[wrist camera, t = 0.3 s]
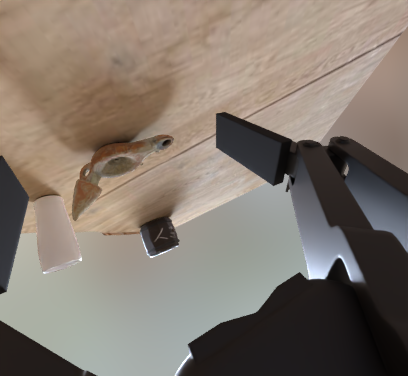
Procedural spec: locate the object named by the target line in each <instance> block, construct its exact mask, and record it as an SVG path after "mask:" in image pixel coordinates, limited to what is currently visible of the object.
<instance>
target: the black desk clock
mask: <svg viewBox="0 0 408 376" xmlns="http://www.w3.org/2000/svg"><path fill="white" fill-rule="evenodd" d="M140 235H141V236H142V240H143V243H144V246H145V248H146V250H147V255H149V256H150V257H154V256H157V255H159V254H162V253H164V252H166V251H169V250H171V249H173V248H175V247H176V246H178V245H179V244H178V242H179V239H178V238H177V234H176V231H175V229H174V226H173V224H172V220H171V219H169V218H168V217H163V218H159V219H156V220H153V221H151V222H148V223H146V224H145V225H143V226H142V227H141V230H140Z"/></svg>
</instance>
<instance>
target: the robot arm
mask: <svg viewBox="0 0 408 376" xmlns="http://www.w3.org/2000/svg"><path fill="white" fill-rule="evenodd" d="M216 148H218V149H219V150H221V151H222V152H224V153H225V154H227V155H228V156H230V157H231V158H233V159H234V160H236V161H237V162H239V163H240V164H242V165H243V166H245V167H246V168H248V169H249V170H251V171H252V172H254V173H255V174H257V175H258V176H260V177H261V178H263V179H264V180H266V181H267V182H269V183H270V184H272V185H273V186H274V185H277V184H279V183H282V182H283V179H284V175H285V174H287V175H289V180H288V184H287V188H286V192H288V190H289V189H290V192H291V196H292V201H293V206H294V210H295V214H296V219H297V223H298V228H299V232H300V237H301V241H302V246H303V250H304V255H305V259H306V263H307V268H308V272H309V279H308V280H307V279H306V278H305V277H304V276H303V275H302V274H301V273H300V272H299V273H298V274H296V275H294V276H293V277H291V278H290V279H288V280H287V281H285V282H284V283H282V284H281V285H279V286H277V288H276V289H275V290H274V291H273V293H272V294H271V295H270V297H269V298H268V299H267V301H266V302H265V303H264V304H263V305H262V307H261V308H260V309H259V310H258V311H257V312H256V313H254V314H250V315H247V316H243V317H240V318H236V319H233V320H229V321H226V322H223V323H220V324H219V325H217V326H215V327H214V328H212V329H211V330H209V331H208V332H206V333H205V334H203V335H201V336H200V337H198V338H197V339H195V340H194V341H192V342H191V343H189V344H188V347H189V352H190V355H189V356H188V358H187V359H186V360H185V361H184V362H183V364H182V365H181V367H180V368H179V370H178V371H177V372H176V374H175V376H408V174H407V173H406V172H404V171H403V170H401V169H400V168H398V167H396V166H395V165H393V164H391V163H390V162H388V161H386V160H385V159H383V158H382V157H380V156H379V155H377V154H375V153H374V152H372V151H370V150H369V149H367V148H366V147H364V146H362V145H361V144H359V143H358V142H356V141H354V140H352V139H349V138H348V137H343V136H340V137H333V138H331V139H330V142H329V145H328V146H322V145H321V144H320V143H319V142H316V141H313V140H301V141H299V142H297V143H296V142H294V141H292V140H291V139H289V138H286V137H284V136H282V135H279V134H277V133H274V132H272V131H269V130H267V129H265V128H262V127H260V126H257V125H255V124H253V123H250V122H248V121H245V120H243V119H240V118H238V117H236V116H233V115H231V114H228V113H226V112H222V113H217V114H216ZM347 164H348V167H349V171H348V174H347V176H345V175H344V171H345V169H346V167H347ZM28 201H29V196H28V194H27V193H26V191H25V190H24V188H23V187H22V185H21V184H20V182H19V181H18V179H17V177H16V176H15V174H14V173H13V171H12V170H11V168H10V167H9V165H8V164H7V162H6V161H5V159H4V158H3V156H0V294H2V293H4V292H6V291H7V287H8V283H9V279H10V275H11V271H12V267H13V262H14V258H15V254H16V250H17V246H18V242H19V238H20V234H21V230H22V225H23V221H24V217H25V213H26V209H27V205H28ZM0 376H96V375H95V374H93V373H90V372H89V371H84V370H82V369H80V368H78V367H77V366H75V365H73V364H72V363H70V362H68V361H67V360H65V359H63V358H62V357H60V356H58V355H57V354H55V353H53V352H52V351H50V350H48V349H47V348H45V347H43V346H42V345H40V344H38V343H37V342H35V341H33V340H32V339H30V338H28V337H27V336H25V335H24V334H22V333H20V332H18V331H17V330H15V329H13V328H12V327H10V326H8V325H7V324H5V323H4V322H2V321H0Z"/></svg>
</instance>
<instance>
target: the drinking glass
mask: <svg viewBox="0 0 408 376" xmlns="http://www.w3.org/2000/svg"><path fill="white" fill-rule="evenodd" d="M33 206H34V211H35V220H36V232H37V245H38V254H39V260H40V264H41V268H42V272H43V273H51V272H55V271H59V270H62V269H65V268H67V267H70V266H73V265H75V264H77V263H79V262H80V261H81V260H82V258H81V253H80V248H79V245H78V241H77V238H76V236H75V233H74V230H73V227H72V224H71V222H70V219H69V216H68V213H67V210H66V207H65V204H64V200H63V198H62V197H60V196H57V195H49V196H44V197H41V198H38V199H37V200H35V201H34V203H33Z"/></svg>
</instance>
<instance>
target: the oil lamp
mask: <svg viewBox="0 0 408 376" xmlns="http://www.w3.org/2000/svg"><path fill="white" fill-rule="evenodd" d="M173 141H174V138H173V137H172V136H169V135H158V136H154V137H152V138H148V139H145V140H141V141H137V142H130V143H113V144H109V145H106V146H103V147H101V148H100V149H99V150H98V151H97V152H96V153H95V154H94V156H93V157H92V160H91V162H90V163H88V164H86V165H85V166H84V167H83V168H82V169H81V171H80V179H78V180H77V181H76V185H75V189H74V195H73V204H72V216H73V220H74V221H76V220H77V219H78V217H79V216H80V215H81V214H83V213H84V212H85V211H86V210H87V209H88V208H89V207H90V206H91V205H92V204H93V203H94V201H95V200H96V199H97V198H98V197H99V195H100V194H101V192H102V189H101V188H100V187H99V186H98V183H99V181H100V179H101V177H103V178H112V177H119V176H122V175H125V174H128V173H130V172H132V171H134V170H135V169H136V168H137V167H138V166H139V165H143V163H142V162H143V160H144V159H145V158H146V157H148V156H149V155H150V154H152V153H154V152H156V153H157V152H159V151H160V150H164V149H166V148H168V147H169V146H170V145H171V144H172V143H173ZM88 171H89V174H88V175H87V176H85V174H86V173H87V172H88Z"/></svg>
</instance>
